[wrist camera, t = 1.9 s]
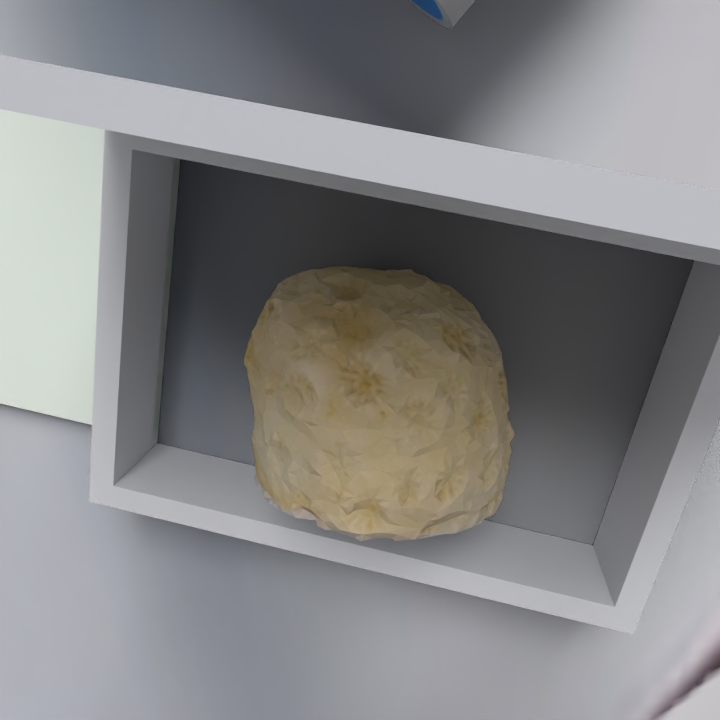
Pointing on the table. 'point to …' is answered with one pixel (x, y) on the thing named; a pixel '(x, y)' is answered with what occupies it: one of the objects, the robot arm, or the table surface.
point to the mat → (55, 265)
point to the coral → (378, 404)
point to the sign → (443, 10)
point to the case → (412, 186)
